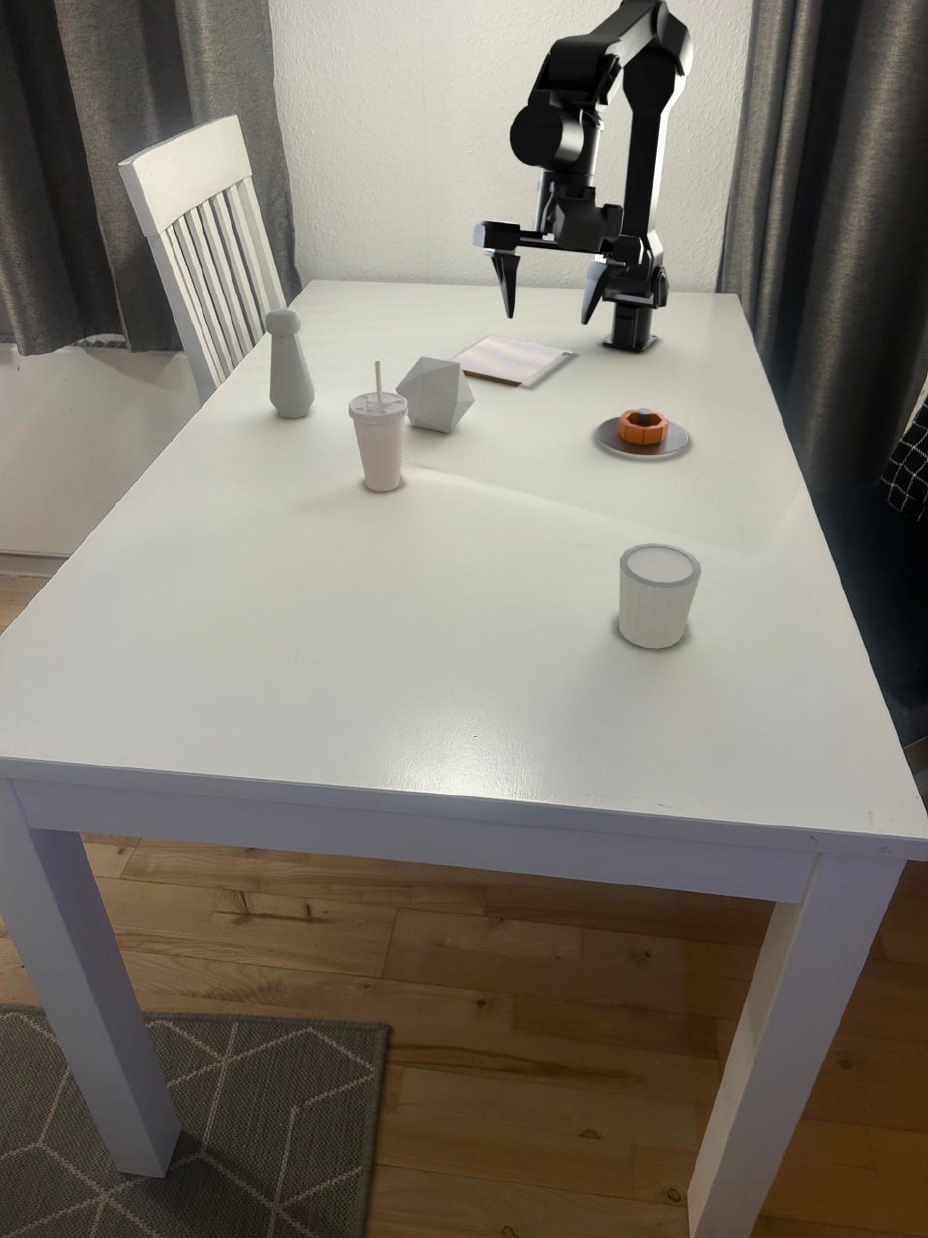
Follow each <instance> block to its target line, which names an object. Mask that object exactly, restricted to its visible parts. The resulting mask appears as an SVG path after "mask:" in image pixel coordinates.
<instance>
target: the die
mask: <svg viewBox="0 0 928 1238" xmlns="http://www.w3.org/2000/svg"><path fill="white" fill-rule="evenodd" d="M395 392H396V394H398V395H400V396H402V397H404V398H405V399H406V400H407V407H408V413H407V415H406V416H407V418H408V420H409V423H410V424H411V426H412V427H417V428H420V429H421V428H422V429H426V430H431V431H434V432H435V431H436V432H441V433H444V434H451V432H452V431H453V430H454V428H455V427H456V426H457V424H458V423H459V422H460V421H461V420H462V418H463V417H464V416H465V414H466V413H467V412H468V411H469V409H470V408H471V407H472V406H473V405H474V403H475V402H476V400H475V398H474V395H473V393H472V390H471V387H470V385H469V383H468V381H467V378H466V374H464V373H463V370H462V368H461V365H460V363H456V362H450V360H445V359H439V358H433V357H428V356H420V357H419V359H418V360H417V361H416V362H415V364H414V365H413V366H412V367H411V369H410V370H409V371H408V372H407V374H406V375H405V376H404V377H403V379H402V380H401V381H400V382H399V384H398V385H397V386H396V387H395Z"/></svg>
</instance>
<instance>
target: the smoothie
mask: <svg viewBox="0 0 928 1238" xmlns="http://www.w3.org/2000/svg"><path fill="white" fill-rule="evenodd" d="M374 369H375V370H374V371H375V387H376V391H371V392H365V393H362V394H359V395H357V396H354V397H353V398H352V399H350V401H349V402H348V416H349V418H351V419H352V422H353V428H354V431H355V436H356V441H357V446H358V450H359V456H360V460H361V464H362V469H363V473H364V478H365V483H366V486H367V489H369V490H372V491H374V492H378V493H379V492H380V493H381V492H390V491H394V490H395V489H397V488H398V487H399V486H400V483H401V482H400V481H401V471H402V469H401V468H402V457H403V445H404V433H405V422H406V421H405V420H406V416H407V413H408V407H407V400H406V399H405V398H404V397H402V396H400V395H398V394H397V393H395V392H389V391H383V386H382V385H383V384H382V368H381V361H380V360H376V361H374Z"/></svg>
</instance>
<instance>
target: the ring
mask: <svg viewBox="0 0 928 1238" xmlns="http://www.w3.org/2000/svg"><path fill="white" fill-rule="evenodd" d="M638 409H639V408H638ZM638 409H629V410H628V409H627V410H625V411H624V412H623V413H622V414H621V415H620V416H618V417H619V424H618V434H619V435H620V436H621V437H622V438H623V440H625V441H628V442H632V443H636V444H640V445H642V444H643V445H646V444H654V443H659V442H662V440H663V439H664V438H665V437H666V436H667V432H668V425H669V421H670V420H669V418H667V416H665V414H663V413H662V412H660V411H655V410H652V420H651V426H648V427H643V426H638V425H636V418H637V411H638Z"/></svg>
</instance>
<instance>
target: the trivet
mask: <svg viewBox="0 0 928 1238" xmlns="http://www.w3.org/2000/svg"><path fill="white" fill-rule="evenodd" d="M564 353H568V354H569V353H570V354H575V351H571V350H566V349H562V348H558V347H557V348H556V347H552V346H546V345H542V344H537V343H532V342H527V341H522V340H518V339H513V338H509V337H504V336H503V337H501V336H497V335H493V334H490V335H489V336H487V337H485V338H484V339H482V340H480V341H478V343H476V344H474V345H472V346H471V347H469V348H468V349H465V351H463V352H462V353H460V354H458V355H456V356H455V357H454V358H452V359H450V360H449V361H450V362H456V363H460V365H461V368H462V370H463V373H464V375H468V376H472V377H476V378H480V379H484V380H489V381H494V382H498V383H502V384H507V385H511V386H516V387H519V386H521V385H522V384H523V383H525V382H527V380H529V379H530V378H532V377H534V375H535V374H537V373H538V372H540V371H541V370H542V369H544V368H545V367H547V366H548V365H549V364H551V363H553V361H554V360H556V359H558V358H559V357H560V356H562V355H563V354H564Z"/></svg>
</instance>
